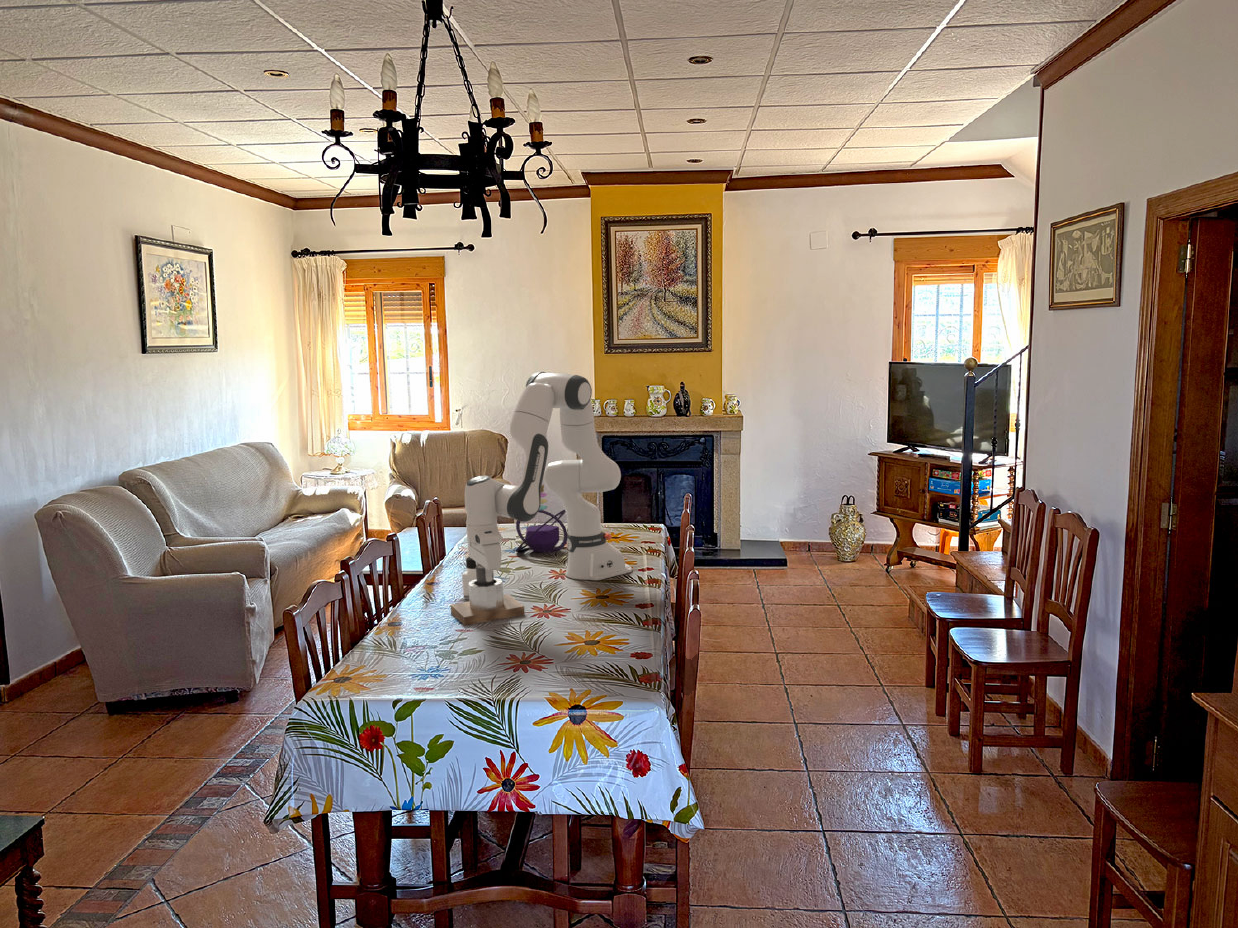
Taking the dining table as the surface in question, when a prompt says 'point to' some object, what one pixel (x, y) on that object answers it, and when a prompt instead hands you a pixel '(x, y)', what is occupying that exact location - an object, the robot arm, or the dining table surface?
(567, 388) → the robot arm
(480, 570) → the gray white-topped cylinder
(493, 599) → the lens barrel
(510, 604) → the mounting block
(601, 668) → the dining table surface
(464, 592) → the medicine bottle
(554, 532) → the decorative bottle
